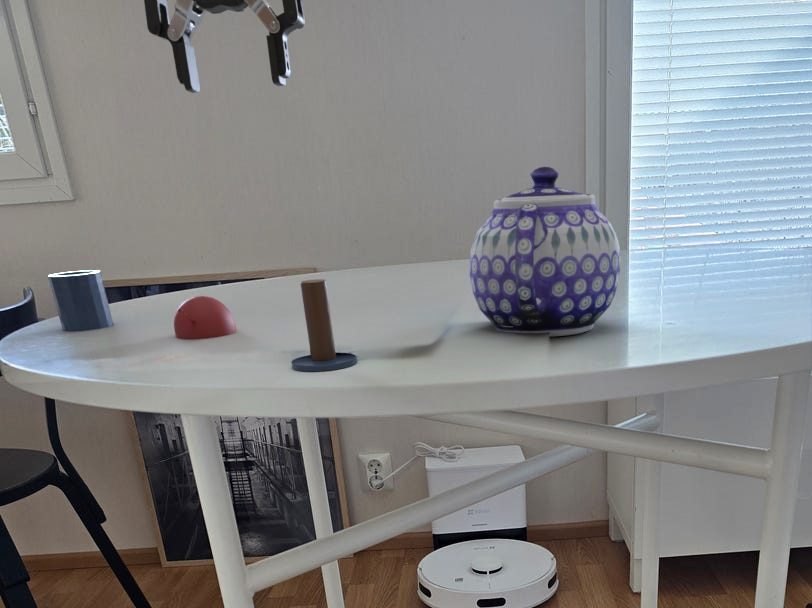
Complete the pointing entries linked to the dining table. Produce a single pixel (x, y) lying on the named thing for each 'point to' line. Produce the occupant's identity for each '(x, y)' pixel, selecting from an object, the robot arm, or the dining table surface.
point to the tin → (81, 300)
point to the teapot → (545, 260)
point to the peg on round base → (320, 331)
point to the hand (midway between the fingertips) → (235, 88)
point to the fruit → (203, 319)
